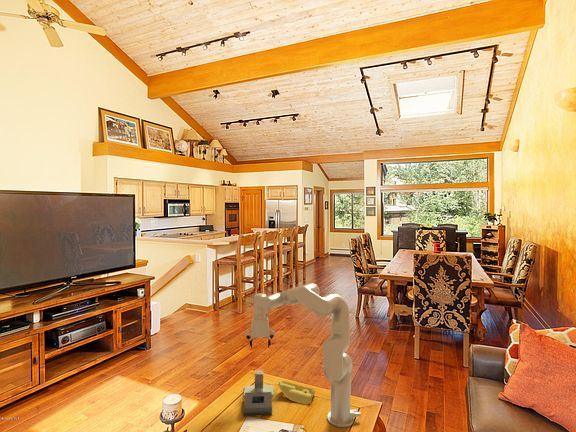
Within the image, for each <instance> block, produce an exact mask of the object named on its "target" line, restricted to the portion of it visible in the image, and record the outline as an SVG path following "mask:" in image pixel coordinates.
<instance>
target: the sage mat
mask: <svg viewBox="0 0 576 432" xmlns="http://www.w3.org/2000/svg"><path fill="white" fill-rule="evenodd" d="M252 392H255V384H253V385H244V389H243V398H245V393H252ZM263 392H272V397H274V385H273V384H269V385H268V384H263Z"/></svg>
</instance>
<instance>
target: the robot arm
mask: <svg viewBox="0 0 576 432" xmlns="http://www.w3.org/2000/svg"><path fill="white" fill-rule="evenodd" d="M320 292H321V291H320V288H319V286H318V284H316V283H312V282H311V283H306V284H302V285H300V286H299V285H298V286H295V287H293V288H292V287H291V288H289V289H287V290H283V291H280V292H276V293H272V294H270V295H267V294H266V293H262V292H261V293H254V294H253V301H252V303H253V306H252V307H253V309H252V310H253V311H252V313H253V315H252V316H253V317H252V318H251V323H250V325H251V326H250V328H249V329H247V330H246V331H244V336H245V337H246V338H247V340H248V341H249V347H250V349H253V339H254V338H267V345H268V346H267V347H268V348H270V346H271V345H272V344H271V341H272V339H273V338H274V336H275V335H276V334H277V333H276V330H274V329H272V328H270V323H269V321H270V319H269V318H268V317H270V313H268V311H272V310H275V309H277V308H279V307H281V306H285V305H290V304H291V305H292V306H294V305H298V304H301V305H302V306H304V307H305V308H306V309H308V310H310V311H311V312H313V313H314V314H316V315H318V316H321V317H328V316H330V315H331V314H332V318H331V335H330V336H329V337H327V339H326V340H324V344H323V351H322V353H323V355H322V356H323V363H322V364H323V365H322V366H323V374H324V376H325V378H326V379H327V381H329V382H330V411H329V412H328V413H327V416H326V417H327V421H328V422H329V423H330V424H331V425H332V426H335V427H336V428H337V427H338V428H347V427H350V426H352V425H353V424H354V421H355V419H354V418H355V417H357V418H359V417H360V418H361V412H360V411H357V409H351V408H352V407H351V406H352V405H351V404H352V402H351V398H352V397H351V396H352V394H351V393H352V374H353V360H352V357H351V356H350V355H349V354H348V353H347V350H348V349H349V348H350V345H351V340H350V339H351V338H350V335H351V334H350V330H351V329H350V310H349V305H348V302H347V301H346V300H345V299H344V298H343V296H341V295H339V294H338V293H329V294H326V295H324V296H323V297H322V296H320ZM270 333H272V334H271V335H270ZM249 334H250V335H249Z"/></svg>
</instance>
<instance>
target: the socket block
mask: <svg viewBox="0 0 576 432" xmlns="http://www.w3.org/2000/svg"><path fill="white" fill-rule="evenodd" d="M272 397H273V396H272V392H252V393H245V397H244V399H243V409H242V410H243V417H259V416H260V417H262V416H263V417H264V416H266V417H267V416H273V398H272Z"/></svg>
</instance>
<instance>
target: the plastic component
mask: <svg viewBox="0 0 576 432" xmlns="http://www.w3.org/2000/svg"><path fill="white" fill-rule="evenodd" d="M278 386H279V389H280V391H281V392H282V394H283V395H284V396H285V397H286V398H287V399H288V400H290V401H293V402H295V403H299V404H302V405H306V406H307V405H310V404H311V403H312V400H313V397H315V395H316V389H314V388H311V387H308V386H303V385H300V384H296V383H292V382H288V381H283V380H279V381H278Z"/></svg>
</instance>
